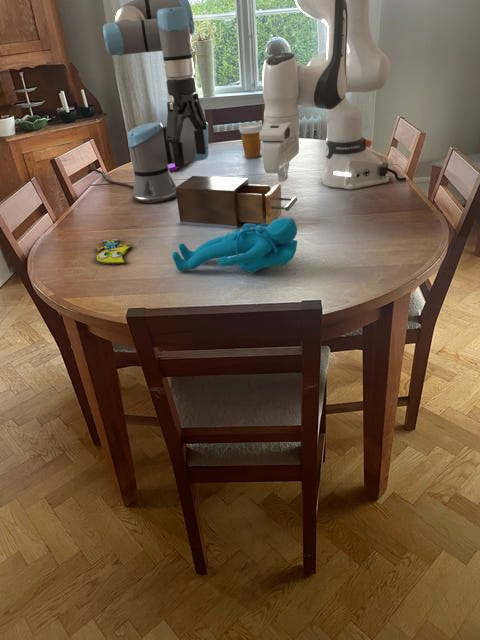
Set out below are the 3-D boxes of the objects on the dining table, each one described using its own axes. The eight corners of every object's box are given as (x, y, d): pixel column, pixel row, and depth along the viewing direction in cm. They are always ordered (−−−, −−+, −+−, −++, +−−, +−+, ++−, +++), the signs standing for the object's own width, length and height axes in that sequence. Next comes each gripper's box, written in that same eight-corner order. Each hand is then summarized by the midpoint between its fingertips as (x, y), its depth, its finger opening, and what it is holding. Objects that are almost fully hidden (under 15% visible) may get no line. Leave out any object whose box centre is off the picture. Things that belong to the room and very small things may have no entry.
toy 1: (135, 237, 135) (125, 260, 122) (135, 240, 135) (125, 263, 123) (99, 239, 135) (85, 263, 122) (100, 242, 135) (86, 266, 123)
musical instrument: (146, 176, 192) (194, 165, 189) (145, 171, 191) (193, 160, 188) (157, 164, 213) (201, 154, 210) (156, 159, 212) (200, 149, 209)
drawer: (298, 214, 139) (298, 184, 135) (288, 228, 132) (287, 196, 127) (229, 210, 147) (226, 181, 142) (215, 222, 139) (212, 192, 134)
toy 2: (183, 229, 122) (297, 202, 112) (198, 266, 128) (308, 242, 117) (161, 259, 109) (288, 230, 99) (178, 298, 114) (301, 275, 104)
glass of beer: (264, 157, 198) (262, 127, 191) (241, 159, 198) (238, 129, 192) (263, 152, 206) (261, 122, 199) (241, 153, 206) (239, 124, 200)
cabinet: (250, 214, 146) (248, 178, 140) (236, 228, 137) (233, 190, 131) (197, 210, 152) (192, 175, 146) (180, 223, 143) (175, 187, 137)
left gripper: (188, 71, 136) (198, 148, 148) (143, 85, 117) (158, 172, 129) (212, 70, 134) (220, 149, 145) (170, 84, 115) (182, 173, 126)
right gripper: (282, 118, 132) (283, 168, 139) (256, 135, 116) (259, 191, 123) (304, 118, 129) (304, 169, 137) (281, 135, 114) (283, 192, 121)
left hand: (191, 160), depth 137 cm, fingers open, 13 cm apart
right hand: (283, 180), depth 130 cm, fingers closed
